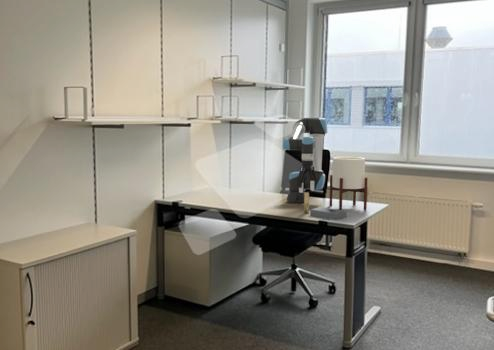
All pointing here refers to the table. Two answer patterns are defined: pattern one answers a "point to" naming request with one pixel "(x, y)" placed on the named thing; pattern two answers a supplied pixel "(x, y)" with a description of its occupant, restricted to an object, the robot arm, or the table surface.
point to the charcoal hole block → (328, 213)
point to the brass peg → (306, 202)
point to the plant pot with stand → (348, 178)
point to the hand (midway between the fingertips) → (306, 191)
